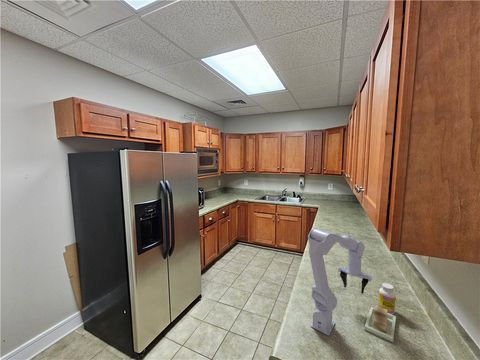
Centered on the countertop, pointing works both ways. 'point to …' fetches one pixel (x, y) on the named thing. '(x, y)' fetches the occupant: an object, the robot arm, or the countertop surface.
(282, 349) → the countertop surface
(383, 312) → the cube
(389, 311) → the supplement bottle
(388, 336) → the tray
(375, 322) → the cube
